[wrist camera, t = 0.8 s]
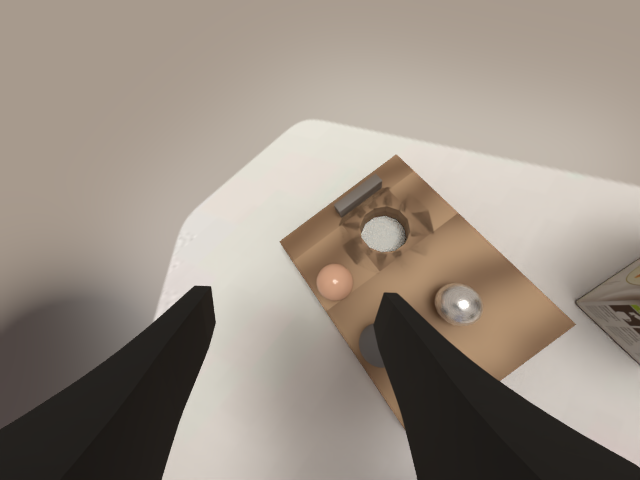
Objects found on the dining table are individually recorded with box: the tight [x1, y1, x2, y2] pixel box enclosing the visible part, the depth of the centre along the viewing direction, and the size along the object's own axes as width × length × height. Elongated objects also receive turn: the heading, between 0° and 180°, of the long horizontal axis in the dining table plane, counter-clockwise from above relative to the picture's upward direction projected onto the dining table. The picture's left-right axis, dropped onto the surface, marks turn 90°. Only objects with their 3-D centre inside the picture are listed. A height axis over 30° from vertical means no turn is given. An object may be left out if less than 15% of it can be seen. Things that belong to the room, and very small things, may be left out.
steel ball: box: [435, 283, 483, 326], centre depth 18 cm, size 3×3×3 cm
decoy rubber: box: [359, 323, 385, 368], centre depth 19 cm, size 3×3×3 cm
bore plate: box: [280, 155, 576, 429], centre depth 22 cm, size 20×15×4 cm
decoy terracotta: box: [316, 264, 353, 301], centre depth 21 cm, size 3×3×3 cm
